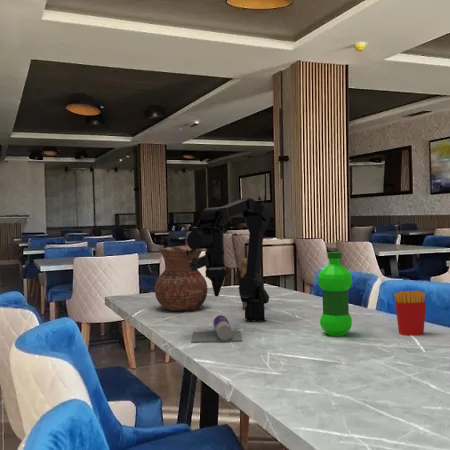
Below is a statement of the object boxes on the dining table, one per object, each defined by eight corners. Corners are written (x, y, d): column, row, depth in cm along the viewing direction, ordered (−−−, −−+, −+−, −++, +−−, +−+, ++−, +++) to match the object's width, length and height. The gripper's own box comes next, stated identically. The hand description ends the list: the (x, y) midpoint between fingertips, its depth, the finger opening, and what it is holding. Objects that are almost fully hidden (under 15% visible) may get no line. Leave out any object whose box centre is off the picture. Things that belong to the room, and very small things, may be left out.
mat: (240, 331, 167) (240, 330, 167) (242, 341, 154) (242, 339, 154) (193, 332, 167) (193, 331, 167) (191, 342, 154) (191, 341, 154)
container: (224, 313, 169) (229, 322, 154) (230, 326, 169) (235, 337, 154) (211, 318, 169) (214, 328, 154) (216, 332, 169) (220, 343, 154)
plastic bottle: (340, 329, 167) (338, 250, 167) (360, 335, 158) (358, 252, 157) (313, 332, 164) (311, 252, 163) (331, 339, 154) (329, 254, 153)
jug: (215, 310, 206) (213, 246, 205) (163, 315, 198) (161, 249, 198) (197, 302, 226) (195, 244, 226) (149, 306, 219) (147, 246, 218)
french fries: (422, 331, 161) (421, 289, 161) (428, 334, 157) (427, 291, 157) (392, 332, 161) (392, 290, 161) (397, 335, 157) (397, 292, 156)
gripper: (190, 246, 177) (192, 292, 177) (188, 250, 158) (189, 302, 158) (224, 245, 177) (225, 291, 177) (225, 249, 158) (226, 300, 159)
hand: (216, 296), depth 168 cm, fingers closed
